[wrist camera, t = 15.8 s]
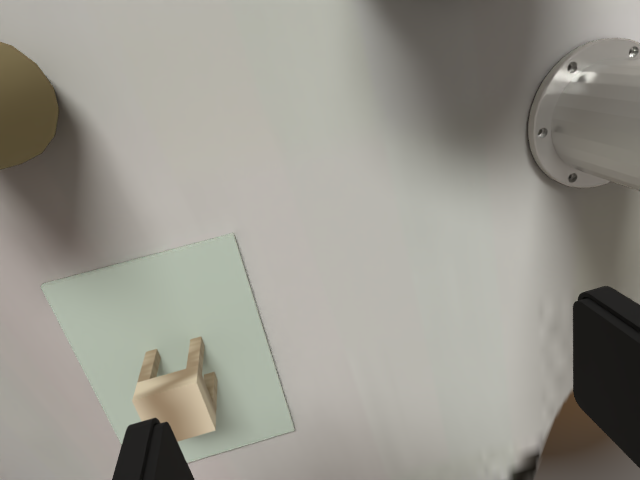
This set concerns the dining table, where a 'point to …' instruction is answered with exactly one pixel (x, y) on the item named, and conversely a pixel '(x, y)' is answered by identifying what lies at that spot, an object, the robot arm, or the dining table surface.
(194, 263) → the mat
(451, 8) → the dining table surface
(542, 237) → the dining table surface
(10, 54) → the squeeze bottle
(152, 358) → the stool
